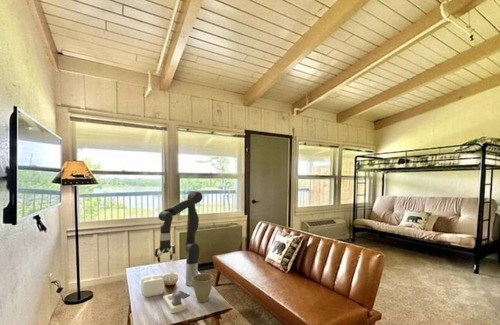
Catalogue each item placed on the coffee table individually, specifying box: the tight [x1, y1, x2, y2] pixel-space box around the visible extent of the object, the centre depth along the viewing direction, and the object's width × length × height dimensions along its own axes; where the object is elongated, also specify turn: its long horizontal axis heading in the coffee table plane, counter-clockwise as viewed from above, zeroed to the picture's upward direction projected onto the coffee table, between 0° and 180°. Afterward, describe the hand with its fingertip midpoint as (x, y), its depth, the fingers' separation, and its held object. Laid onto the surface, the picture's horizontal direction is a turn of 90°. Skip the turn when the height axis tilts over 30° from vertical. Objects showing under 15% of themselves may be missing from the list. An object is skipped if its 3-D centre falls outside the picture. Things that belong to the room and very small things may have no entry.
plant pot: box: [192, 272, 214, 303], centre depth 183 cm, size 15×15×16 cm
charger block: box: [172, 291, 181, 306], centre depth 172 cm, size 4×4×9 cm
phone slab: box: [177, 290, 191, 300], centre depth 190 cm, size 6×11×1 cm, turn 53°
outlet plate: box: [162, 293, 188, 314], centre depth 175 cm, size 10×20×3 cm, turn 34°
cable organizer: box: [140, 274, 165, 298], centre depth 191 cm, size 15×11×12 cm
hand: (164, 260), depth 187 cm, fingers open, 8 cm apart
